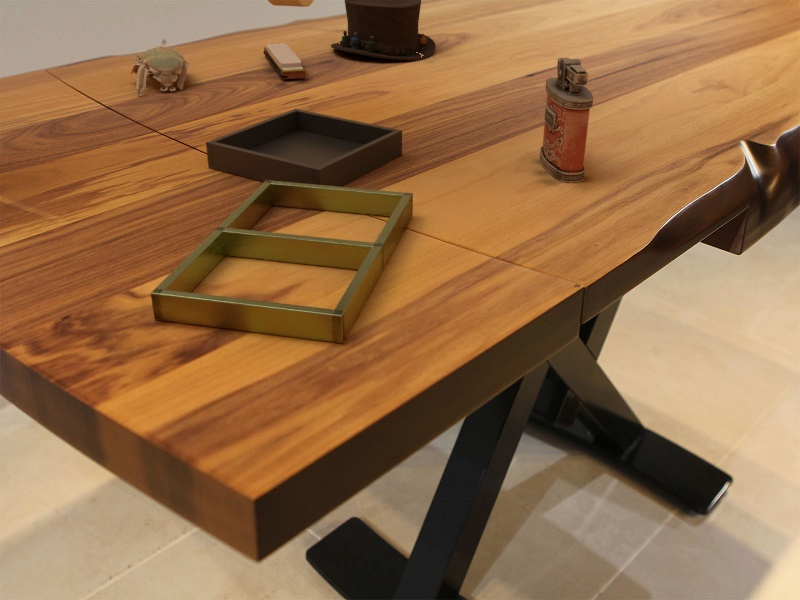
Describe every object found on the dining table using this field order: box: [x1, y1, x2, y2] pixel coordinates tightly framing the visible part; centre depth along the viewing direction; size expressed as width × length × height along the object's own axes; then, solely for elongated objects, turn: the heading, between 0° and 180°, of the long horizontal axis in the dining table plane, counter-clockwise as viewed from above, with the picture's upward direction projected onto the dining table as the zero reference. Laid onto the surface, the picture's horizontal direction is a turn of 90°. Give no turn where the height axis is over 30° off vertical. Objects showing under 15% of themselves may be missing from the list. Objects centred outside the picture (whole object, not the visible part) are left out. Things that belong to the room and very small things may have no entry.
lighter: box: [539, 57, 594, 183], centre depth 79 cm, size 8×3×10 cm, turn 6°
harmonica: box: [262, 42, 307, 80], centre depth 114 cm, size 15×3×2 cm, turn 17°
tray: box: [205, 108, 403, 187], centre depth 82 cm, size 13×13×2 cm
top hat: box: [330, 0, 436, 61], centre depth 121 cm, size 15×15×10 cm
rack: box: [150, 180, 414, 344], centre depth 63 cm, size 13×21×2 cm, turn 167°
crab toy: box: [129, 45, 191, 97], centre depth 106 cm, size 9×11×5 cm
